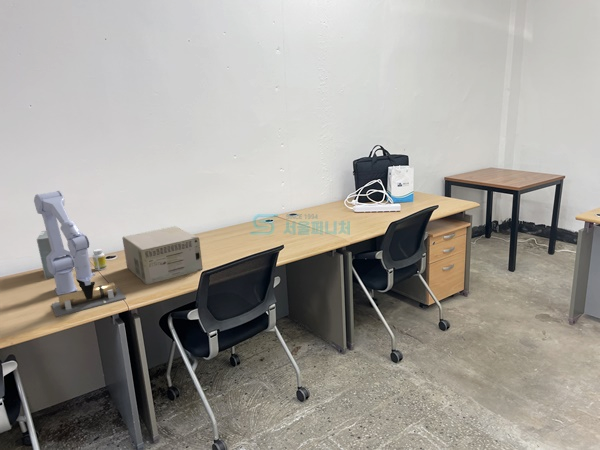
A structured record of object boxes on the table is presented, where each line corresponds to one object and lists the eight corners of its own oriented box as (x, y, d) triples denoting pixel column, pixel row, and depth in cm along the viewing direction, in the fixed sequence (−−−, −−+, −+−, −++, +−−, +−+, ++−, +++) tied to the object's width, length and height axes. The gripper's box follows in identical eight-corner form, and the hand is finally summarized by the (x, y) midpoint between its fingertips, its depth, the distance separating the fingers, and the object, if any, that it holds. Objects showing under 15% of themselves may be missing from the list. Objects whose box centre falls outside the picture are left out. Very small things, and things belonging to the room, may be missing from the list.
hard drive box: (49, 268, 227) (41, 230, 221) (66, 266, 229) (59, 228, 224) (44, 279, 212) (36, 239, 207) (62, 276, 215) (54, 236, 210)
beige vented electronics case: (179, 255, 237) (175, 225, 233) (202, 269, 215) (199, 237, 210) (127, 268, 222) (122, 236, 217) (146, 285, 199) (140, 250, 195)
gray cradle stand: (51, 305, 183) (50, 295, 182) (118, 288, 197) (116, 279, 196) (56, 317, 172) (53, 307, 171) (126, 298, 185) (124, 289, 184)
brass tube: (59, 305, 181) (57, 293, 179) (114, 291, 192) (112, 280, 190) (61, 310, 177) (59, 298, 175) (117, 295, 188) (115, 284, 186)
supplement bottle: (108, 266, 225) (105, 248, 223) (104, 270, 220) (101, 251, 218) (97, 267, 225) (94, 248, 223) (93, 270, 220) (89, 252, 217)
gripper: (96, 267, 176) (102, 299, 180) (89, 258, 188) (95, 288, 191) (76, 272, 172) (83, 304, 176) (71, 262, 184) (77, 292, 188)
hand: (88, 296), depth 183 cm, fingers open, 6 cm apart
